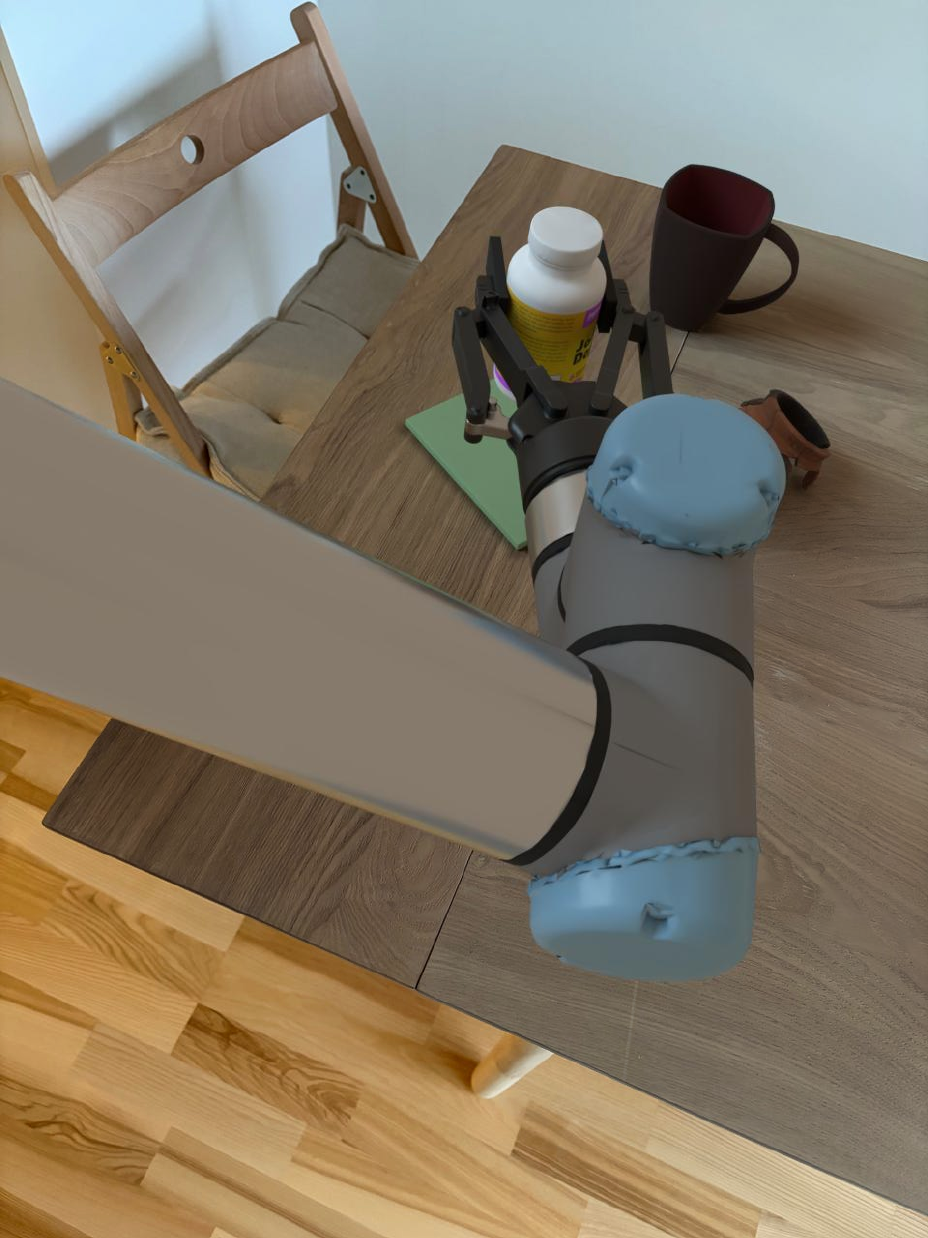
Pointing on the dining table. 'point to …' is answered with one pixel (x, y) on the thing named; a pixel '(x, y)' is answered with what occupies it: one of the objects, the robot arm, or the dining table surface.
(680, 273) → the mug
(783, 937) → the dining table surface
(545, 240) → the supplement bottle
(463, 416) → the green mat
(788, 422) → the pottery mug
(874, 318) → the dining table surface
